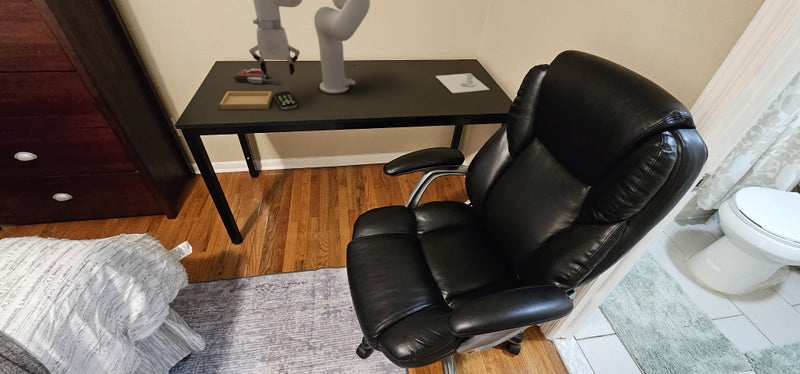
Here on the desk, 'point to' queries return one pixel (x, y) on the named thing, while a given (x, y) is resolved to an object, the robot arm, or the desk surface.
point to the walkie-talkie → (253, 76)
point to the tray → (247, 100)
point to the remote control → (285, 100)
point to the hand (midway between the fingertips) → (278, 73)
